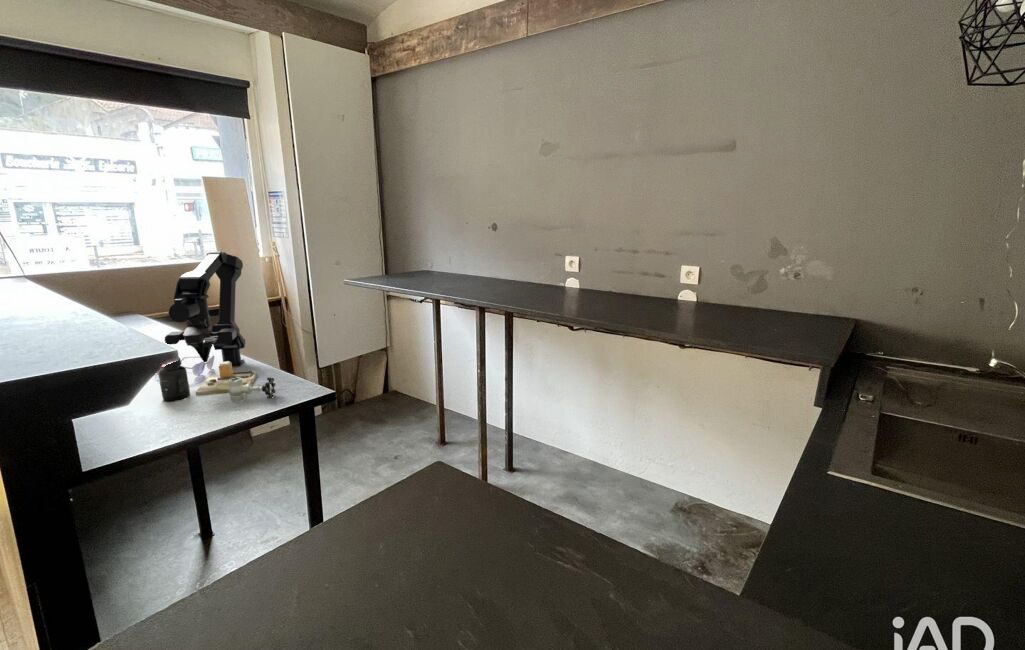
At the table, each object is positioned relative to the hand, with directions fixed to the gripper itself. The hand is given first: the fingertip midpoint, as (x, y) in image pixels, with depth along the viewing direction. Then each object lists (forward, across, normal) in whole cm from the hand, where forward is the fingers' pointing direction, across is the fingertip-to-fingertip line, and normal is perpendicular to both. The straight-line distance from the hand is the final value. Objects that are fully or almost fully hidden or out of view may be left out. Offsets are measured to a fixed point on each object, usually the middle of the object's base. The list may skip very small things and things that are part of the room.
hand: (205, 361), depth 156 cm
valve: (+7, +17, -20) cm, 27 cm away
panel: (+7, +7, -5) cm, 11 cm away
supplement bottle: (+7, -5, -13) cm, 15 cm away
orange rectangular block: (+5, +6, 0) cm, 8 cm away
